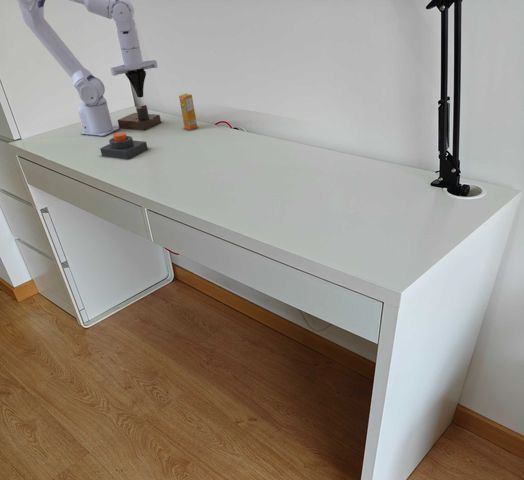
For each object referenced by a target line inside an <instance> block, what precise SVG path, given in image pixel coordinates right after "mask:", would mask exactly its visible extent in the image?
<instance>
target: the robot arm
mask: <svg viewBox="0 0 524 480" xmlns="http://www.w3.org/2000/svg"><path fill="white" fill-rule="evenodd" d="M69 1H71V2H74V3H76V4H80V5H82V6H84V7H85V8H86V10H87V11H88V12H89V13H92V14H94V15H97V16H101V17H103V18H106V19H108V20H112V19H113V21H114V22H115V25H116V31H117V37H118V42H119V47H120V52H121V56H122V61H123V64H121V65H117V66H114V67H110V72H111V75H112V76H114V77H115V76H118V75H123V74H125V76H126V78H127V79H128V81H129V83H130V84H131V85H132V88H133V89H134V92H135V94H136V97H137V98H144V85H145V80H146V77H147V71H146V70H151V69H157V68H158V63H157V60H155V59H152V60H144V61H143V56H142V52H141V51H142V50H141V46H140V42H139V41H140V40H139V36H138V35H139V34H138V30H137V28H136V22H135V19H134V16H135V9H134V6H133V4H132V2H130V1H129V0H69ZM17 2H18V6H19V9H20V12H21V15H22V19H23V21H24V23H25V25H26V26H27V27H28V28H29V29H30V31H31V32H32V33H33V34H34V36H35V37H36V38H37V40H39V41H40V43H41V44H42V45H43V47H45V48H46V50H47V51H48V52H49V53H50V54H51V56H52V57H53V58H54V59H55V61H56V62H57V63H58V64H59V65H60V67H61V68H62V69H63V70H64V71H65V73H66V74H67V76H69V78H70V79H71V81H72V85H73V87H74V88H75V89H76V91H77V93H78V96H79V98H80V99H81V101H82V103H80V104H79V106H78V117H79V120H80V124H81V127H82V130H83V131H82V132H81V133H82V135H90V136H101V137H104V136H107V135H109V134H111V133H113V132H115V131H118V130H120V128H119V126H118V127H117V126H116V127H115V126H113V122H112V118H111V114H110V110H109V106H108V102H107V99H106V98H105V96H104V95H105V92H106V89H105V85H104V83H103V81H102V80H101V79H100V78H98V77H96V76H95V75H93V73H92V72H91V71H90V70H88V69H87V68H86V67H84V66H83V65H82V62H80V61H79V60H78V58H77V57H76V56H75V55H74V53H73V52H72V51H71V50H70V49H69V47H68V46H67V44H65V42H64V41H63V40H62V39H61V37H60V36H59V35H58V34H57V32H56V31H55V29H53V27H52V25H50V24H49V22H48V21H47V20H46V19H45V8H44V7H45V3H46V0H17Z"/></svg>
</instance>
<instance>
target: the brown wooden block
mask: <svg viewBox="0 0 524 480" xmlns="http://www.w3.org/2000/svg"><path fill="white" fill-rule="evenodd" d="M148 114H149V119H146V120H139V119H138V115H137V112H133V113H130V114H128V115H126V116H123V117H121V118H119V119H117V123H118V128H119V129H128V130H129V129H130V130H139V131H146V130H148V129H150V128H153V127H155V126H156V125H159V124H160V123H162V120H161V115H160V114H158V113H157V114H155V113H148Z"/></svg>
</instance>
